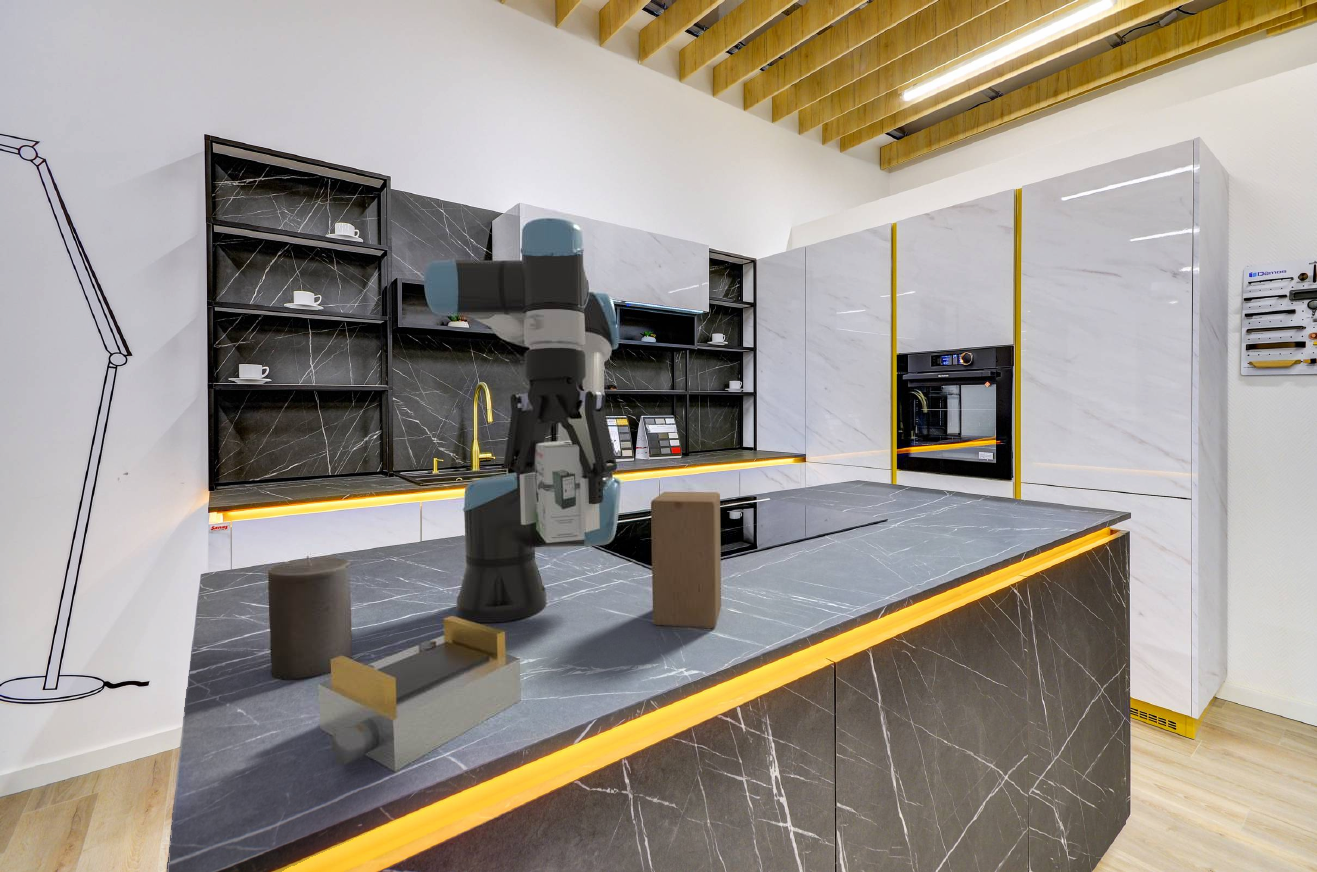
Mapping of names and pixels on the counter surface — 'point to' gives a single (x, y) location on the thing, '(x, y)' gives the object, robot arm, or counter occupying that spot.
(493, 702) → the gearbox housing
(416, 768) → the counter surface
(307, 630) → the pillar candle
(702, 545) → the wooden block
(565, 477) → the ink box
